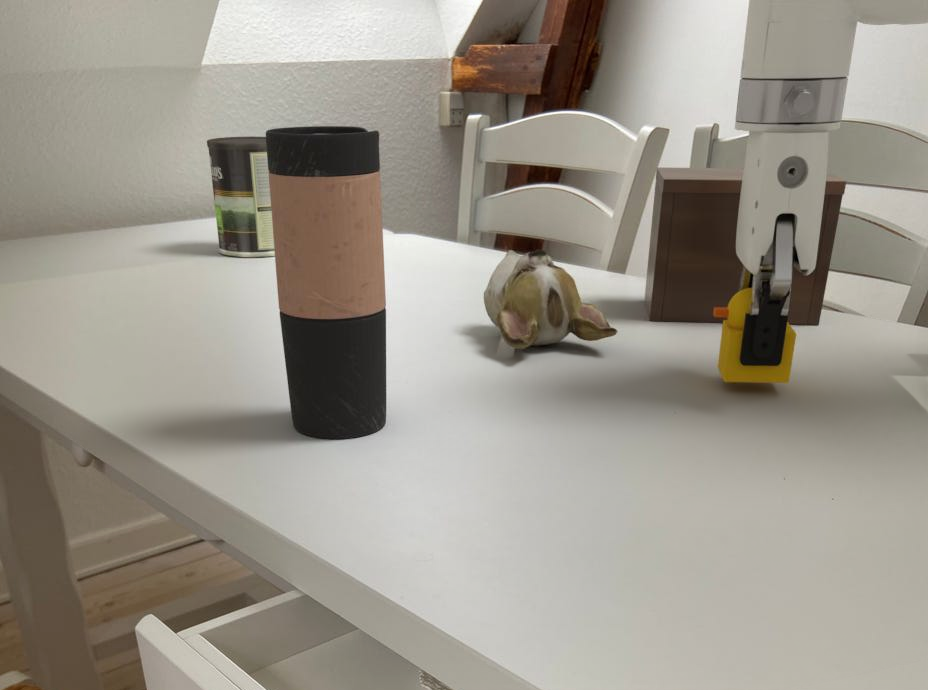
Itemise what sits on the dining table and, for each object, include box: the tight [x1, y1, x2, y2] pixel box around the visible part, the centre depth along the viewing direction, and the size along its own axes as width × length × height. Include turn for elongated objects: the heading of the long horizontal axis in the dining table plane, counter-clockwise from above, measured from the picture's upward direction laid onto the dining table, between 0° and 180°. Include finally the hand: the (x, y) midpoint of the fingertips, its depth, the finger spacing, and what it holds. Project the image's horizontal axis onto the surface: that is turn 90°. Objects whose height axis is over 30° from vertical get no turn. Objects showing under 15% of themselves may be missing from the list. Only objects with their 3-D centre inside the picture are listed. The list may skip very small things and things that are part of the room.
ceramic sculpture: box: [483, 249, 618, 350], centre depth 95 cm, size 11×9×15 cm
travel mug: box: [265, 125, 387, 440], centre depth 71 cm, size 8×8×20 cm
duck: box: [713, 288, 797, 384], centre depth 82 cm, size 6×4×7 cm
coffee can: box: [206, 136, 275, 259], centre depth 137 cm, size 10×10×14 cm
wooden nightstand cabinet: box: [644, 167, 847, 326], centre depth 104 cm, size 11×17×14 cm, turn 83°
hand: (755, 353), depth 83 cm, fingers closed on duck, 4 cm apart
